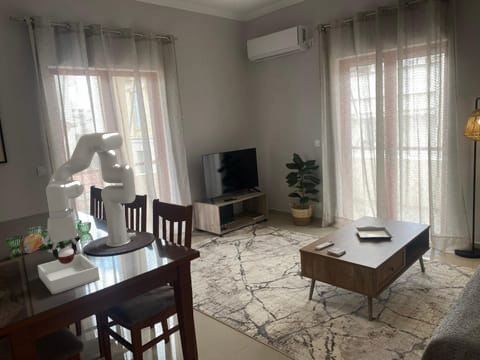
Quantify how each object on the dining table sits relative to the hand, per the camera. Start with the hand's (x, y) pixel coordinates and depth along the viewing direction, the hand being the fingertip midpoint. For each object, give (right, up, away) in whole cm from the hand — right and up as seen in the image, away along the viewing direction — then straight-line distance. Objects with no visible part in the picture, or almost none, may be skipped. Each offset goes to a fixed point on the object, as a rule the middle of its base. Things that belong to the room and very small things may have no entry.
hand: (65, 254), depth 150 cm
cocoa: (0, -3, +1) cm, 3 cm away
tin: (-36, -6, +40) cm, 54 cm away
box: (+1, -10, +2) cm, 11 cm away
